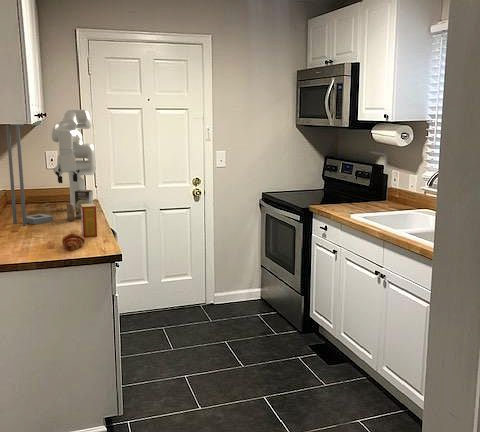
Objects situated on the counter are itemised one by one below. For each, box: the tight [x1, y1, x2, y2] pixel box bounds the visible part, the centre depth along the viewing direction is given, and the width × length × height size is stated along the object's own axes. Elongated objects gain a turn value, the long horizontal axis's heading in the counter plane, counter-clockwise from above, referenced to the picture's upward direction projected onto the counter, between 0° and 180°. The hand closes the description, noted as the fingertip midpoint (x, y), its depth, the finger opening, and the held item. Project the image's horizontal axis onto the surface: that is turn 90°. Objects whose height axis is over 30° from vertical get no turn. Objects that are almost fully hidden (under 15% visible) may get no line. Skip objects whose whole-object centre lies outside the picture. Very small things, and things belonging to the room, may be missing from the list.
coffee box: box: [75, 189, 94, 219], centre depth 317 cm, size 9×6×16 cm
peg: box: [66, 202, 76, 223], centre depth 305 cm, size 4×4×10 cm
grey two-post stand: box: [5, 120, 41, 227], centre depth 295 cm, size 14×12×57 cm
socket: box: [26, 213, 54, 225], centre depth 303 cm, size 12×12×3 cm
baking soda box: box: [80, 202, 98, 239], centre depth 268 cm, size 10×6×16 cm
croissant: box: [61, 233, 86, 251], centre depth 246 cm, size 21×10×8 cm, turn 11°
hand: (67, 182), depth 301 cm, fingers open, 9 cm apart
